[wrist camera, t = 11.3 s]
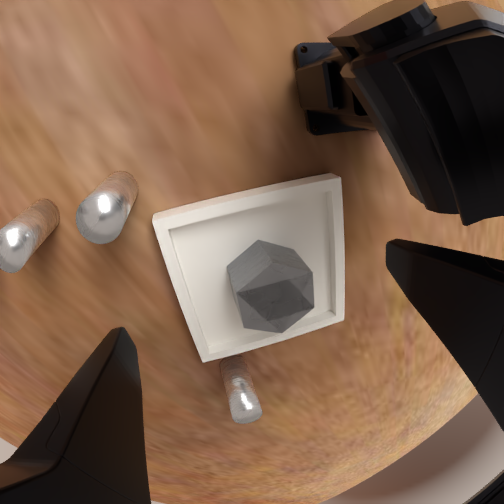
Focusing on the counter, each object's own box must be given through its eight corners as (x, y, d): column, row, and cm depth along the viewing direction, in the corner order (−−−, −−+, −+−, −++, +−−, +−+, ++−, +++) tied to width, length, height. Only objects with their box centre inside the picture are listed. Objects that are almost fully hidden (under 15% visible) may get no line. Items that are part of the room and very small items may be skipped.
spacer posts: (193, 150, 18) (201, 164, 13) (247, 368, 27) (264, 418, 22) (-26, 229, 16) (-67, 264, 10) (78, 401, 25) (71, 448, 20)
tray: (330, 172, 21) (341, 177, 20) (336, 310, 27) (344, 319, 25) (153, 213, 19) (152, 221, 18) (200, 350, 25) (202, 362, 24)
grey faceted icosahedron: (291, 231, 22) (311, 252, 18) (297, 296, 24) (315, 323, 21) (222, 248, 21) (231, 272, 18) (237, 313, 23) (247, 343, 20)
